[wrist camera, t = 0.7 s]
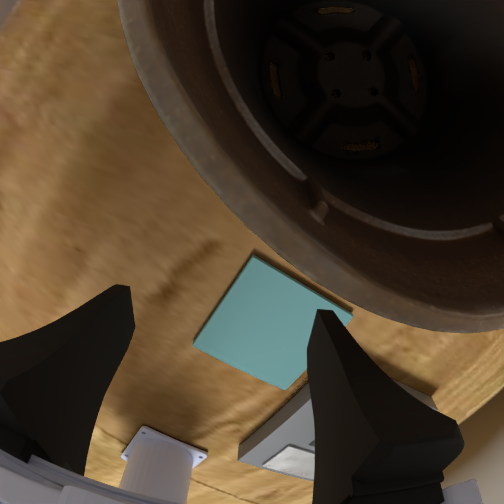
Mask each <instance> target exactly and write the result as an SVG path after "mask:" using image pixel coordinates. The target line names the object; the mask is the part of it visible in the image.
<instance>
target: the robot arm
mask: <svg viewBox="0 0 504 504" xmlns="http://www.w3.org/2000/svg"><path fill="white" fill-rule="evenodd" d="M134 330H135V321H134V314H133V307H132V299H131V292H130V286H125V285H118V284H116V285H114V286H112V287H110V288H108V289H107V290H105V291H104V292H102V293H100V294H99V295H97V296H96V297H94V298H93V299H91V300H90V301H88V302H86V303H85V304H83V305H82V306H80V307H79V308H77V309H75V310H73V311H72V312H70V313H68V314H67V315H65V316H63V317H61V318H60V319H58V320H56V321H54V322H52V323H50V324H48V325H46V326H44V327H42V328H40V329H37V330H35V331H32V332H30V333H27V334H24V335H22V336H19V337H16V338H13V339H10V340H6V341H3V342H0V504H186V502H187V496H188V490H189V485H190V479H191V473H192V469H193V468H194V467H195V466H197V465H198V464H199V463H200V462H201V461H203V460H204V459H205V458H206V457H207V455H208V453H207V452H205V451H202V450H200V449H197V448H195V447H192V446H190V445H187V444H185V443H183V442H180V441H178V440H175V439H173V438H171V437H169V436H166V435H164V434H162V433H160V432H158V431H155V430H153V429H151V428H149V427H147V426H142V427H141V428H140V430H139V431H138V432H137V434H136V435H135V437H134V438H133V439H132V441H131V442H130V444H129V445H128V446H127V448H126V449H125V450H124V452H123V453H122V455H121V458H122V459H124V460H126V461H128V462H127V464H126V467H125V470H124V473H123V476H122V479H121V482H120V485H119V488H117V487H114V486H110V485H107V484H104V483H101V482H98V481H95V480H93V479H90V478H87V477H84V472H85V466H86V460H87V454H88V450H89V446H90V441H91V437H92V433H93V429H94V426H95V422H96V419H97V416H98V413H99V410H100V407H101V404H102V401H103V398H104V395H105V393H106V391H107V389H108V387H109V385H110V383H111V381H112V379H113V377H114V375H115V373H116V371H117V369H118V367H119V365H120V363H121V361H122V359H123V357H124V355H125V353H126V351H127V349H128V347H129V344H130V341H131V339H132V336H133V333H134ZM307 374H308V381H309V389H310V395H311V402H312V409H313V416H314V427H315V467H314V488H313V501H312V504H483V503H482V499H481V496H480V492H479V489H478V485H477V482H476V480H475V479H471V480H468V481H465V482H462V483H458V484H454V485H451V486H449V487H447V488H444V489H443V490H442V488H441V484H440V482H442V481H443V480H444V476H443V472H442V471H443V470H444V469H445V468H446V467H447V466H448V465H449V464H450V463H451V462H452V461H453V460H454V459H455V458H457V456H458V455H459V454H460V453H461V451H462V449H463V447H464V440H463V437H462V435H461V432H460V429H459V427H458V424H457V422H456V420H454V419H452V418H450V417H448V416H446V415H444V414H442V413H440V412H438V411H436V410H434V409H432V408H431V407H429V406H428V405H426V404H424V403H423V402H421V401H420V400H418V399H417V398H415V397H414V396H412V395H411V394H410V393H408V392H407V391H406V390H404V389H403V388H402V387H400V386H399V385H398V384H397V383H396V382H394V381H393V380H392V379H391V378H390V377H389V376H388V375H387V374H386V373H384V372H383V371H382V370H381V369H380V368H379V367H378V366H377V365H376V364H375V363H374V362H373V360H372V359H371V358H370V357H369V356H368V355H367V354H366V353H365V352H364V350H363V349H362V348H361V347H360V346H359V344H358V343H357V342H356V341H355V339H354V338H353V337H352V335H351V334H350V333H349V331H348V330H347V329H346V327H345V326H344V325H343V323H342V322H341V320H340V319H339V318H338V316H337V315H336V314H335V312H334V311H333V310H326V309H317V311H316V315H315V319H314V323H313V327H312V331H311V335H310V338H309V342H308V346H307Z"/></svg>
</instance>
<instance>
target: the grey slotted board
mask: <svg viewBox="0 0 504 504" xmlns="http://www.w3.org/2000/svg"><path fill="white" fill-rule="evenodd" d="M391 379H392V378H391ZM392 380H393V381H394V382H396V383H397V384H398V385H399V386H400V387H402V388H403V389H404V390H406V391H407V392H408V393H410V394H411V395H412V396H414V397H415V398H417V399H418V400H420V401H421V402H423V403H424V404H426V405H428V406H429V407H431V408H432V409H434V410H436V411H437V410H438V409H437V407H436V405H435V403H434V401H433V399H432V397H430V396H428V395H426V394H423V393H421V392H419V391H417V390H415V389H413V388H411V387H408V386H406V385H404V384H402V383H400V382H398V381H396V380H394V379H392ZM238 461H241V462H244V463H247V464H250V465H253V466H256V467H260V468H263V469H267V470H270V471H274V472H277V473H281V474H285V475H289V476H293V477H297V478H301V479H305V480H310V481H314V467H315V427H314V416H313V409H312V402H311V395H310V389H309V382H308V383H307V384H306V385H305V386H304V387H303V388H302V389H301V390H300V391H299V392H298V393H297V394H296V395H295V396H294V397H293V398H292V399H291V400H290V401H289V402H288V403H287V404H286V405H285V406H284V407H283V408H281V409H280V410H279V411H278V412H277V413H276V414H275V415H274V416H273V417H272V418H271V419H269V420H268V421H267V422H266V423H265V424H264V425H263V426H262V427H260V428H259V429H258V430H257V431H256V432H255V433H254V434H252V435H251V436H250V437H249V438H248V439H247V440H245V441H244V442H243V443H242V444H241V445H239V448H238Z"/></svg>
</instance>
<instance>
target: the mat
mask: <svg viewBox="0 0 504 504" xmlns="http://www.w3.org/2000/svg"><path fill="white" fill-rule="evenodd" d="M317 309H326V310H333V311H334V312H335V314H336V315H337V316H338V318H339V319H340V320H341V322H342V323H343V325H344V326H346V325H347V324H348V322H349V321H350V320H351V319H352V318H353V317H354V316H353V314H352V313H351V312H349V311H347V310H346V309H344V308H342V307H341V306H339V305H337V304H336V303H334V302H332V301H331V300H329V299H327V298H326V297H324V296H322V295H321V294H319V293H317V292H316V291H314V290H312V289H311V288H309V287H307V286H306V285H304V284H302V283H301V282H299V281H297V280H296V279H294V278H292V277H290V276H289V275H287V274H285V273H284V272H282V271H280V270H279V269H277V268H275V267H274V266H272V265H270V264H269V263H267V262H265V261H264V260H262V259H260V258H259V257H257V256H255V255H254V254H253V255H252V257H251V258H250V260H249V261H248V263H247V264H246V266H245V267H244V269H243V270H242V272H241V273H240V275H239V276H238V277H237V279H236V280H235V282H234V283H233V285H232V286H231V288H230V289H229V291H228V292H227V294H226V295H225V297H224V298H223V299H222V301H221V302H220V304H219V305H218V307H217V308H216V310H215V311H214V313H213V314H212V316H211V317H210V319H209V320H208V321H207V323H206V324H205V326H204V327H203V329H202V330H201V332H200V333H199V335H198V336H197V338H196V339H195V340H194V342H193V345H192V346H194V347H195V348H197V349H199V350H201V351H203V352H205V353H207V354H209V355H211V356H213V357H215V358H217V359H219V360H221V361H223V362H225V363H227V364H229V365H231V366H233V367H235V368H237V369H239V370H241V371H244V372H246V373H248V374H250V375H252V376H254V377H256V378H259V379H261V380H263V381H265V382H267V383H270V384H272V385H274V386H276V387H279V388H281V389H283V390H286V389H287V388H288V387H289V386H290V385H291V384H292V383H293V382H294V381H295V380H296V379H297V378H298V377H299V376H300V375H301V374H302V373H303V372H304V371H305V370H306V369H307V346H308V342H309V338H310V335H311V331H312V327H313V323H314V319H315V315H316V311H317Z"/></svg>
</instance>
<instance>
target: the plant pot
mask: <svg viewBox="0 0 504 504" xmlns="http://www.w3.org/2000/svg"><path fill="white" fill-rule="evenodd" d="M118 7H119V14H120V19H121V23H122V27H123V31H124V35H125V39H126V42H127V46H128V49H129V51H130V54H131V57H132V60H133V63H134V66H135V68H136V71H137V74H138V76H139V78H140V80H141V82H142V84H143V86H144V88H145V90H146V92H147V94H148V96H149V98H150V100H151V102H152V104H153V106H154V108H155V109H156V111H157V113H158V114H159V116H160V118H161V119H162V121H163V123H164V124H165V126H166V127H167V129H168V130H169V132H170V133H171V135H172V136H173V138H174V139H175V141H176V142H177V144H178V146H179V147H180V149H181V150H182V152H183V153H184V154H185V156H186V157H187V158H188V160H189V161H190V162H191V164H192V165H193V166H194V168H195V169H196V171H197V172H198V173H199V175H200V176H201V177H202V178H203V179H204V181H205V182H206V183H207V184H208V185H209V186H210V187H211V188H212V189H213V190H214V192H215V193H216V194H217V195H218V196H219V197H220V199H221V200H222V201H223V202H224V203H225V204H226V205H227V206H228V208H229V209H230V210H231V211H232V212H233V213H234V214H235V215H236V216H237V217H238V218H239V219H240V220H241V221H242V222H243V223H244V224H245V225H246V226H247V227H248V228H249V229H250V230H251V231H252V232H253V233H255V234H256V235H257V236H258V237H259V238H260V239H261V240H263V241H264V242H265V243H266V244H267V245H268V246H269V247H271V248H272V249H273V250H274V251H275V252H276V253H277V254H279V255H280V256H281V257H282V258H283V259H285V260H286V261H287V262H289V263H290V264H291V265H293V266H294V267H296V268H297V269H298V270H300V271H301V272H302V273H304V274H305V275H306V276H308V277H309V278H310V279H312V280H313V281H314V282H316V283H318V284H320V285H321V286H323V287H325V288H326V289H328V290H330V291H332V292H333V293H335V294H337V295H338V296H340V297H342V298H343V299H345V300H347V301H349V302H351V303H353V304H355V305H357V306H359V307H361V308H363V309H365V310H367V311H369V312H372V313H374V314H377V315H379V316H382V317H384V318H387V319H390V320H394V321H397V322H400V323H404V324H407V325H410V326H413V327H418V328H422V329H427V330H432V331H440V332H453V333H477V332H486V331H492V330H498V329H503V328H504V0H118ZM324 7H347V8H352V9H353V10H354V13H350V14H345V13H332V14H326V15H321V14H319V13H318V9H319V8H324ZM365 51H368V52H370V53H371V55H372V58H371V59H370V60H365V59H364V58H363V52H365ZM327 52H333V53H334V54H335V59H334V60H332V61H328V60H327V59H326V58H325V55H326V53H327ZM409 57H412V58H414V60H415V63H416V66H417V70H418V74H419V91H418V92H416V91H415V88H414V85H413V80H412V78H413V77H412V74H411V69H410V65H409V62H408V58H409ZM271 62H276V63H277V64H278V65H279V71H278V74H279V80H280V86H281V89H282V95H283V97H282V99H279V98H278V97H276V96H275V95H274V92H273V89H272V85H271V80H270V76H269V75H270V74H269V65H270V63H271ZM372 87H374V88H376V89H377V90H378V94H377V96H371V95H370V94H369V90H370V88H372ZM334 88H336V89H339V90H340V92H341V95H340V96H339V97H338V98H335V97H333V96H332V95H331V91H332V90H333V89H334ZM372 140H377V141H378V142H379V147H378V148H376V149H373V150H367V151H356V152H355V151H348V150H343V149H342V147H343V146H344V145H345V144H347V143H354V144H355V143H363V142H369V141H372Z"/></svg>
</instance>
